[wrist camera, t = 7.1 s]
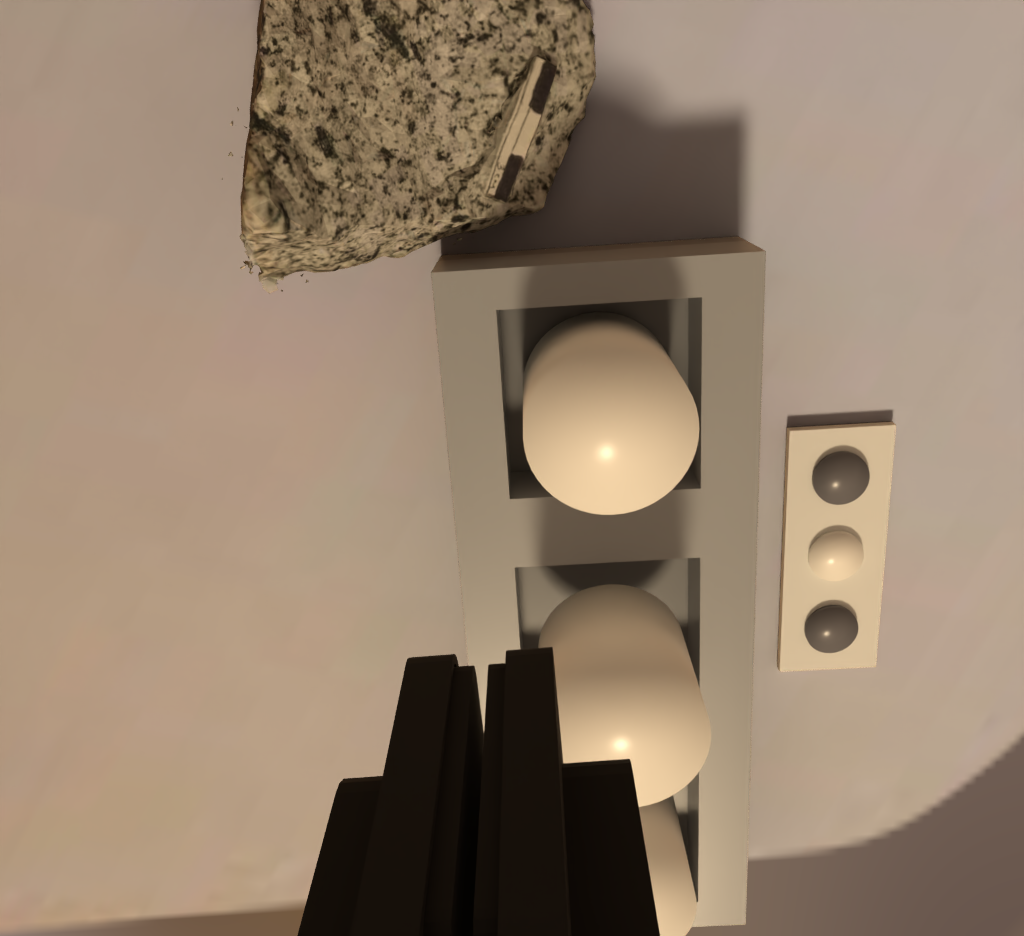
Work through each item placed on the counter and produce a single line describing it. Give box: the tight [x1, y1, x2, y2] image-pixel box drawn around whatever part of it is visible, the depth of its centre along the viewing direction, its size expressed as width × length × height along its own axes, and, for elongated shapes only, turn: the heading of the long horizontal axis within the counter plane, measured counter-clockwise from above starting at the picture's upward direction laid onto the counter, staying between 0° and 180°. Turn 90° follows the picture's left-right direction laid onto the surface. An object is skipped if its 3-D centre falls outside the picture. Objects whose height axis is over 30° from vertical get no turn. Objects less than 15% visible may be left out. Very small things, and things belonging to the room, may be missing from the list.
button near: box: [523, 312, 699, 515], centre depth 23 cm, size 4×4×4 cm
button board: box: [431, 236, 766, 927], centre depth 27 cm, size 21×8×3 cm, turn 4°
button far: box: [639, 795, 697, 936], centre depth 28 cm, size 4×4×4 cm
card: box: [777, 422, 896, 672], centre depth 28 cm, size 8×3×1 cm, turn 4°
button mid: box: [538, 584, 711, 807], centre depth 24 cm, size 4×4×4 cm
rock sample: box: [222, 0, 596, 294], centre depth 22 cm, size 10×8×9 cm
